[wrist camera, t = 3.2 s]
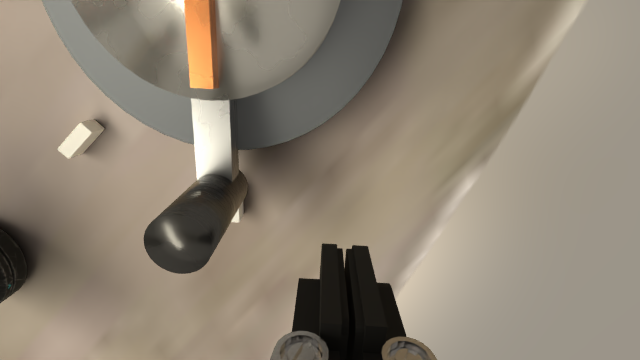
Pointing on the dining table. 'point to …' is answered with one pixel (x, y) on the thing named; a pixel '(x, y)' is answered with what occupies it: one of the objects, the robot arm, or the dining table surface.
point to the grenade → (10, 266)
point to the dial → (207, 92)
